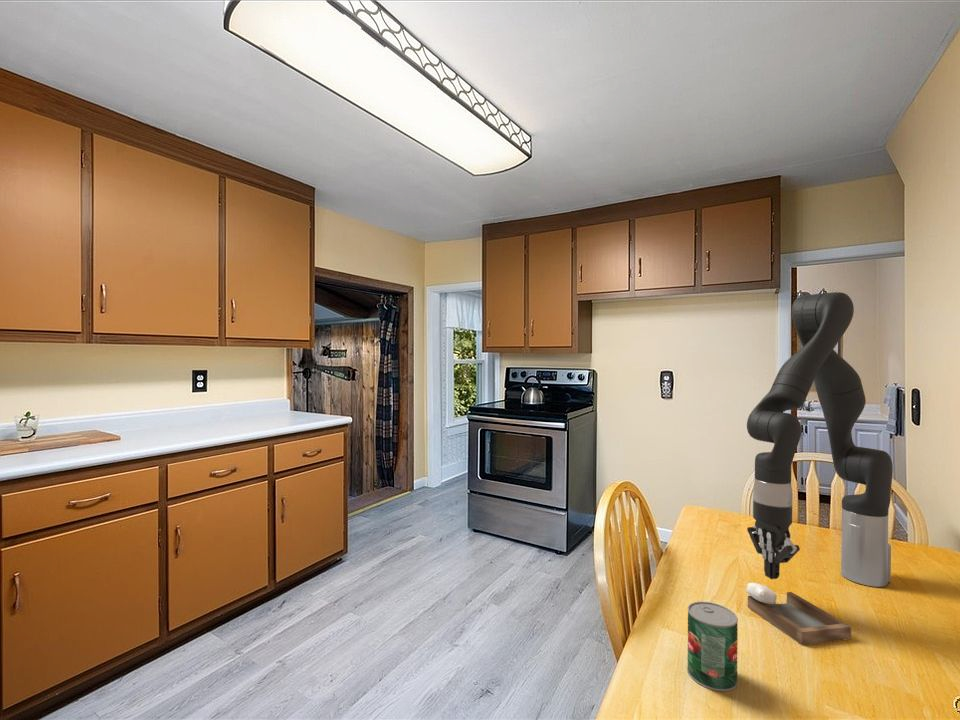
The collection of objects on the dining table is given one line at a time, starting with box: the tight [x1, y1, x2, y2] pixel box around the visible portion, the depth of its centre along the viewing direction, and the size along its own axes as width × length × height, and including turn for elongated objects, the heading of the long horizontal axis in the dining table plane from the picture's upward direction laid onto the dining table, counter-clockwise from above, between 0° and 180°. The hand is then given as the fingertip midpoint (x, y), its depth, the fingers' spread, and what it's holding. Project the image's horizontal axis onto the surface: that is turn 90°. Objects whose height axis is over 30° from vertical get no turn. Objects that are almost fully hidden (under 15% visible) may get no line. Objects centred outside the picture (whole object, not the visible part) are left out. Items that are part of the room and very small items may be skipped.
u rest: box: [747, 591, 852, 646], centre depth 100 cm, size 11×14×2 cm
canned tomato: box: [686, 601, 739, 692], centre depth 83 cm, size 8×8×11 cm
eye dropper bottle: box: [745, 582, 778, 605], centre depth 104 cm, size 4×6×12 cm
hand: (771, 577), depth 106 cm, fingers closed
